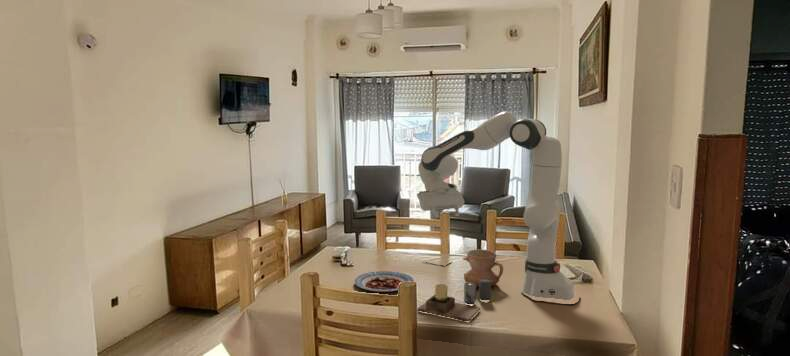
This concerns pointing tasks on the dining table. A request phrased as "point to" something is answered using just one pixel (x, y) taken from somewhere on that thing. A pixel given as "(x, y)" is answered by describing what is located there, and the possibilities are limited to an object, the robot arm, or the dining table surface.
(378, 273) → the ceramic plate
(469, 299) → the dark steel roller
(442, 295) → the translucent yellow cylinder
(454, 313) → the socket board
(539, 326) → the dining table surface
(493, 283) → the ceramic jug
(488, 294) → the grey rounded cylinder
